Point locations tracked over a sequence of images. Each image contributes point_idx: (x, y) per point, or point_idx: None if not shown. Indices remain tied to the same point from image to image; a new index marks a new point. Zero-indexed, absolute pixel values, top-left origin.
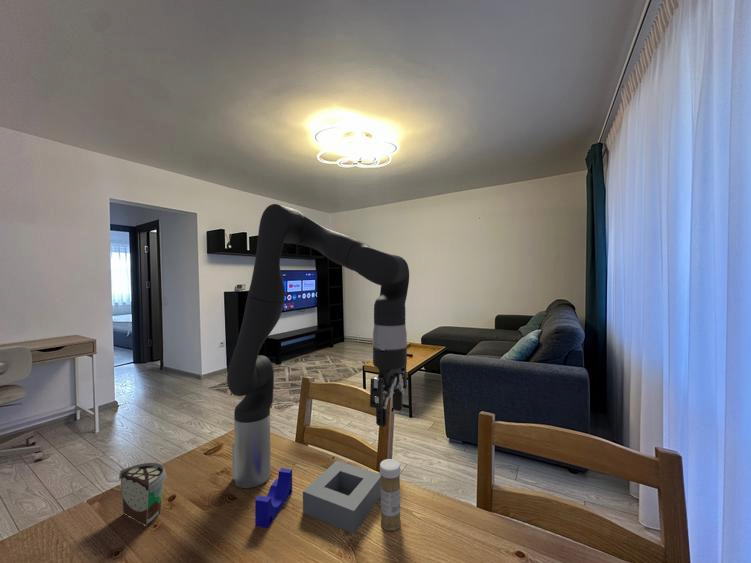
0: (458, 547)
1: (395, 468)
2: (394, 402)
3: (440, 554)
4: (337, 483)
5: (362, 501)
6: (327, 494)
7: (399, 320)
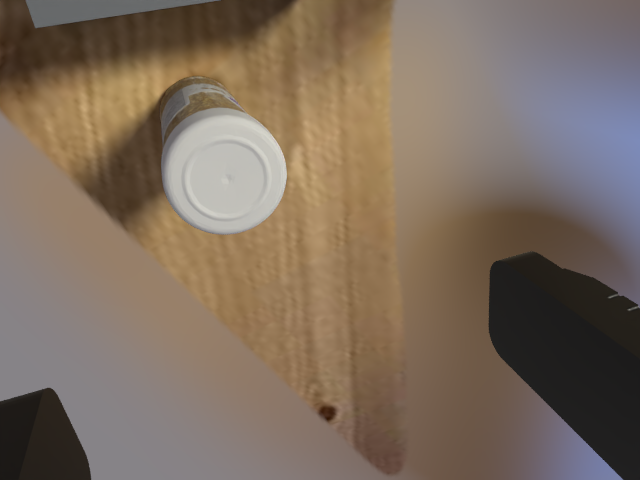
0: (256, 316)
1: (212, 229)
2: (552, 323)
3: (202, 295)
4: None
5: (123, 14)
6: None
7: None
